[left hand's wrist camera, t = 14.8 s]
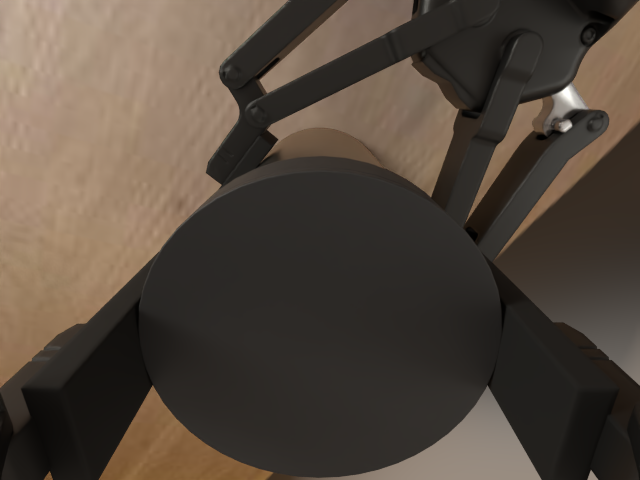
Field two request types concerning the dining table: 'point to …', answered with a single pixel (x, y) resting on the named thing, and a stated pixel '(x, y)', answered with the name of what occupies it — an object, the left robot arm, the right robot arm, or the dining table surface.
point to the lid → (320, 319)
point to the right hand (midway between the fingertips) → (267, 285)
